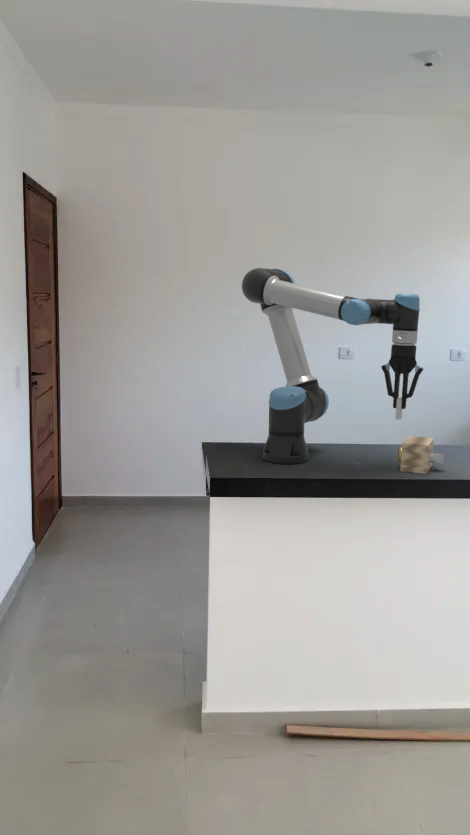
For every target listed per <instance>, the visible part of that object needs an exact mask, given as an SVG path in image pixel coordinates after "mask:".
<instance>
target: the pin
mask: <svg viewBox="0 0 470 835" xmlns="http://www.w3.org/2000/svg"><path fill="white" fill-rule="evenodd" d="M401 453H402V445H401V446H399V447H398V450H397V462H398V463H401ZM429 462H432V464H433V463H434V464H443V463H444V453H440V452H439V453H438V452H437V453H436V452H433V453H430V457H429Z"/></svg>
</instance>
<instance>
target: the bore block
mask: <svg viewBox="0 0 470 835" xmlns="http://www.w3.org/2000/svg"><path fill="white" fill-rule="evenodd" d="M415 436H416V435H408V436H407V437H406V438H405V439H404V440H403V441H402V442H401V447H402V453H401V462H400V472H403V473H404V472H405V473H411V474H413V473H414V474H420V475H421V474H423V475H427V474H428V473H429V471H430V470H431V468H432V466H433V462H429V457H430V453H434V442H435V439H434V437H425V436H424V437H423V436H416V437H415Z"/></svg>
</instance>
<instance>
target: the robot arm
mask: <svg viewBox="0 0 470 835" xmlns="http://www.w3.org/2000/svg"><path fill="white" fill-rule="evenodd" d="M241 290H242V294H243V295H244V297H245V298H246V299H247V300H248V301H250V302H251V303H255V304H259V305H260V306H259V307H260V309H261V312H262V314H263V315H266V316H267V317H268V320H269V324H270V327H271V330H272V334H273V337H274V341H275V344H276V347H277V351H278V355H279V358H280V362H281V365H282V369H283V372H284V376H285V379H286V384H285V386H280V387H277V388H274V389H273V390H271V391H270V394H269V399H268V405H269V406H268V436H267V439H266V442H265V444H264V447H263V451H262V459H263V460H264V461H266V462H270V463H275V464H280V465H281V464H285V465H289V464H290V465H295V464H301V463H305V462H308V461H309V455H310V454H309V449H308V447H307V443H306V439H305V424H307V423H309V422H315V421H317V420H319V419H320V418H321V417H323V416H324V415H325V414H326V412H327V410H328V408H329V403H330V402H329V400H330V399H329V397H328V396H329V395H328V394H327V392H326V390H324V388H322V387H321V386H320V384H319V382H318V378H316V377H315V376H313V375H312V373H311V369H310V366H309V363H308V359H307V356H306V351H305V349H304V345H303V343H302V339H301V338H302V337H301V335H300V331H299V329H298V325H297V322H296V317H295V315H294V314H295V313H294V311H293V309H296V310H300V311H303V312H308V313H312V314H316V315H319V316H324V317H327V318H332V319H336V320H340V321H343V322H345V323H347V324H349V325H352V326H360V325H370V324H383V325H384V324H386V325H392V336H391V342H392V345H391V348H390V349H391V351H390V358H389V360H388V363H386V364H383V365H381V370H382V371H383V373H384V380H385V384H386V390H387V391H386V392H387V396H388V397H389V396H390V397H392V398H393V400H392V408H393V409H395V420H402V418H403V410H405V409H406V408H407V400H408V399H409V398H412V397H413V396H414V392H415V390H416V386H417V384H418V380H419V378H420V375H421V374H422V372H423V371H424V367H422V366H419V365H418V364H417V363H418V362H417V359H416V354H417V346H416V344H417V342H418V330H419V329H418V328H419V317H420V310H421V308H420V302H421V301H420V296H419V295H418V294H415V293H414V294H413V293H396V294H395V296H394V299H379V298H358V297H357V298H356V297H354V296H348V295H345V294H340V293H336V292H331V291H328V290H323V289H318V288H314V287H310V286H307V285H301V284H299V283H298V284H297V283H296V282H295V280H294V278H293V276H292V275H291V274H290V273H289V272H288V271H286V270H283V269H279V268H262V267H256V268H253V269H251V270H249V271H248V272H247V273H246V274H245V275H244V276H243V278H242V281H241ZM390 369H392V371H393V372H394V385H393V382H392V379H391V373H390ZM413 370H414V374H413V375H414V376H413V378H412V381H411V384H410V388H409V387H408V386H409V376H410V374H411V372H412V371H413ZM401 375H402V387H401V388H402V389H401V397H400V385H401V384H400V383H401V382H400V381H401ZM408 388H409V391H408Z"/></svg>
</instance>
